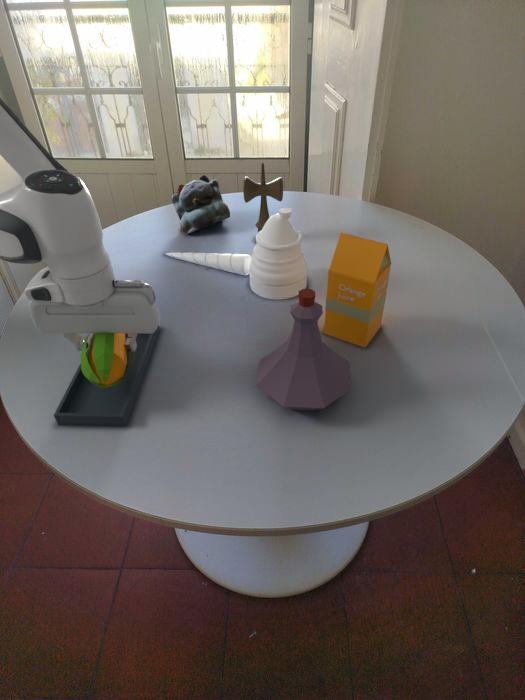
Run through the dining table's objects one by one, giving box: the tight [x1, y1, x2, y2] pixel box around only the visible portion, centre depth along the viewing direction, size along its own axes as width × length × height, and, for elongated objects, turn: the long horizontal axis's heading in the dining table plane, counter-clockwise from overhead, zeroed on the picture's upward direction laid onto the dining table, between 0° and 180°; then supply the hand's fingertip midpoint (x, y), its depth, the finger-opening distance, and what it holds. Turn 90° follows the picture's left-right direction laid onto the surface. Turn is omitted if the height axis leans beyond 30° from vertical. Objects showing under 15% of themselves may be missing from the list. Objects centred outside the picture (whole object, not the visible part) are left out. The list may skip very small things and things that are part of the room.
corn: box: [79, 332, 129, 389], centre depth 80 cm, size 7×8×20 cm
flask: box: [256, 288, 353, 411], centre depth 74 cm, size 16×16×20 cm
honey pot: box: [248, 207, 308, 300], centre depth 100 cm, size 13×13×18 cm
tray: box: [53, 324, 161, 428], centre depth 84 cm, size 11×25×3 cm, turn 177°
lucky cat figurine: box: [170, 174, 231, 235], centre depth 127 cm, size 15×12×14 cm
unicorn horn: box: [164, 251, 252, 277], centre depth 113 cm, size 5×24×5 cm, turn 61°
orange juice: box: [323, 232, 392, 349], centre depth 86 cm, size 8×9×20 cm
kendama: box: [242, 162, 284, 242], centre depth 116 cm, size 6×10×20 cm, turn 87°
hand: (107, 349), depth 81 cm, fingers closed on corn, 7 cm apart
